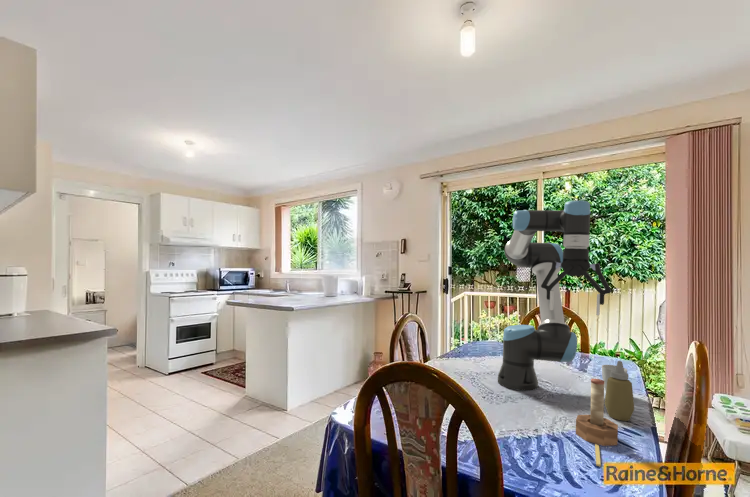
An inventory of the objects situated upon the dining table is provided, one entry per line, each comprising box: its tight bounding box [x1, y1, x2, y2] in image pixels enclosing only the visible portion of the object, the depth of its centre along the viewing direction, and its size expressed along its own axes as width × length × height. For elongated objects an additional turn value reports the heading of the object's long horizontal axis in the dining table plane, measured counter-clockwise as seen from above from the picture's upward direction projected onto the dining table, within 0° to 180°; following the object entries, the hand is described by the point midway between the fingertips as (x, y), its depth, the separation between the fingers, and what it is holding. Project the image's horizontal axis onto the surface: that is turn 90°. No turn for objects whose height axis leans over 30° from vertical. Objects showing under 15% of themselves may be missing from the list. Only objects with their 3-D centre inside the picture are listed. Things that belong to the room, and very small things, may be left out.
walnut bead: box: [575, 414, 619, 447], centre depth 104 cm, size 10×10×4 cm
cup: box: [601, 364, 628, 392], centre depth 138 cm, size 8×8×10 cm
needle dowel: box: [589, 378, 605, 426], centre depth 104 cm, size 3×3×16 cm
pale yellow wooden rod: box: [594, 443, 601, 468], centre depth 93 cm, size 11×1×1 cm, turn 150°
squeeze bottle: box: [604, 360, 635, 422], centre depth 118 cm, size 8×8×18 cm
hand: (574, 312), depth 120 cm, fingers open, 13 cm apart
